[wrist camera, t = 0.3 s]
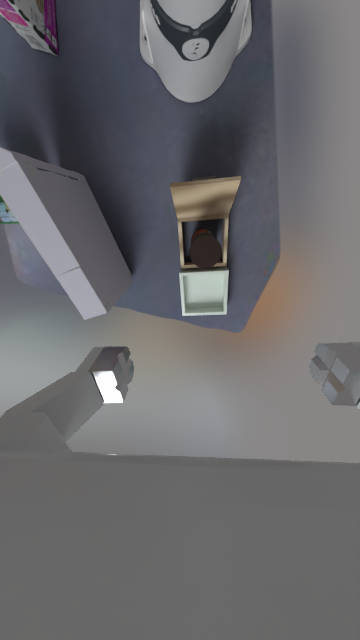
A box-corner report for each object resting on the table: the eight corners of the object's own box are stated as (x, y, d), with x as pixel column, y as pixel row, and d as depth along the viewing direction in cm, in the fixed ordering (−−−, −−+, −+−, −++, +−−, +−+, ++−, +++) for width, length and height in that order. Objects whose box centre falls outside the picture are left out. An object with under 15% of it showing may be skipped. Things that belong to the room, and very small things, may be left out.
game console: (82, 169, 42) (6, 141, 25) (135, 280, 55) (108, 312, 38) (62, 180, 44) (-24, 160, 26) (118, 286, 56) (84, 319, 39)
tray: (180, 269, 52) (179, 273, 49) (226, 266, 51) (228, 270, 47) (183, 309, 58) (182, 315, 55) (224, 308, 57) (226, 314, 54)
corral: (178, 217, 46) (177, 218, 43) (226, 213, 45) (228, 213, 42) (181, 265, 52) (181, 268, 49) (224, 263, 50) (226, 265, 48)
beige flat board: (177, 218, 43) (177, 211, 43) (229, 213, 42) (228, 207, 42) (170, 187, 31) (169, 178, 31) (240, 180, 30) (240, 170, 30)
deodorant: (217, 231, 47) (226, 239, 34) (210, 255, 50) (216, 271, 37) (194, 226, 46) (194, 231, 34) (188, 250, 49) (186, 264, 37)
